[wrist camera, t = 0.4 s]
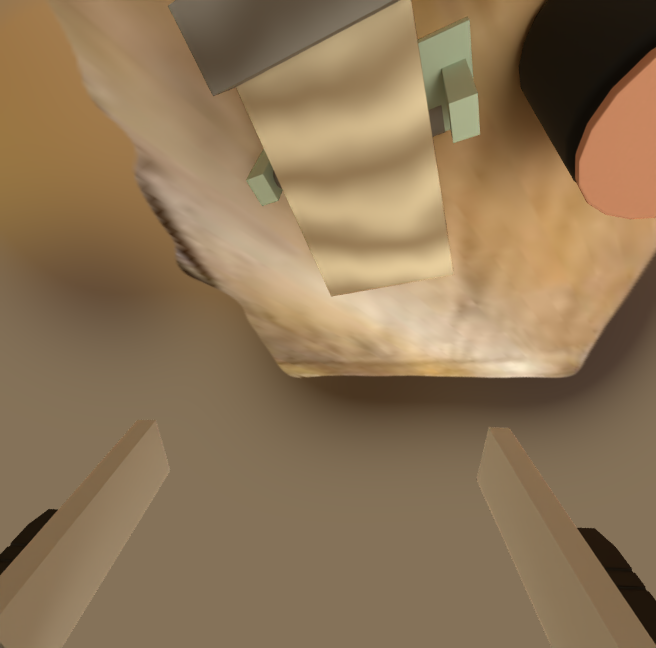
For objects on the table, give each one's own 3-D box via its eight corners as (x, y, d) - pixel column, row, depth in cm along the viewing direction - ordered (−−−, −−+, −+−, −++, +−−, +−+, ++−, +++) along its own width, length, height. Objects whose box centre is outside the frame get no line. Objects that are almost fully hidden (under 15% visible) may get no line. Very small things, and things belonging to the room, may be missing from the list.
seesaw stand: (254, 116, 36) (226, 157, 30) (467, 16, 27) (483, 48, 22) (288, 181, 42) (270, 226, 36) (474, 115, 33) (488, 161, 27)
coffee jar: (557, 132, 33) (628, 247, 22) (490, 56, 29) (538, 152, 18) (700, 15, 25) (912, 105, 15) (635, -110, 21) (860, -110, 11)
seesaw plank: (209, 13, 26) (157, 13, 21) (411, -122, 19) (406, -169, 14) (329, 282, 42) (316, 319, 37) (461, 256, 35) (467, 297, 30)
